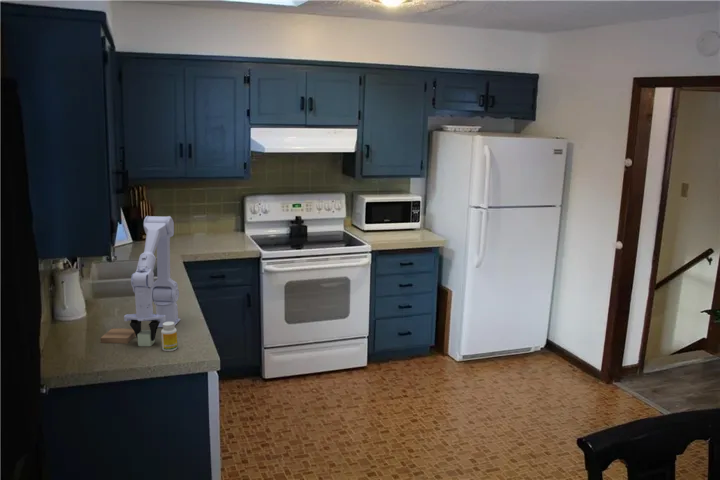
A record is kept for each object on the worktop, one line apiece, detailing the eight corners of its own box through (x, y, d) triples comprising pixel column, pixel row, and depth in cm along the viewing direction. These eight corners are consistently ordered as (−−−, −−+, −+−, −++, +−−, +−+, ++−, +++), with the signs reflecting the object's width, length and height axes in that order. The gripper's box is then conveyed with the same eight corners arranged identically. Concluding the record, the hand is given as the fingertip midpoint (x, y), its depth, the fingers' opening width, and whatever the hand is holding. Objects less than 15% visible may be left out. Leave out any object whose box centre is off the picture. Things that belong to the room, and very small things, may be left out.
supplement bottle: (159, 348, 223) (157, 323, 221) (172, 344, 227) (171, 319, 225) (167, 352, 219) (165, 326, 218) (180, 348, 223) (179, 323, 221)
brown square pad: (112, 334, 238) (112, 328, 238) (138, 335, 238) (138, 328, 237) (101, 344, 228) (100, 337, 228) (127, 344, 228) (127, 338, 227)
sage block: (142, 341, 230) (142, 329, 229) (154, 341, 230) (154, 330, 229) (138, 346, 225) (137, 334, 224) (150, 346, 225) (149, 334, 224)
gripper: (119, 307, 221) (122, 343, 224) (159, 307, 220) (162, 344, 223) (127, 301, 228) (130, 336, 230) (166, 301, 227) (168, 337, 230)
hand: (146, 339), depth 227 cm, fingers closed on sage block, 4 cm apart
